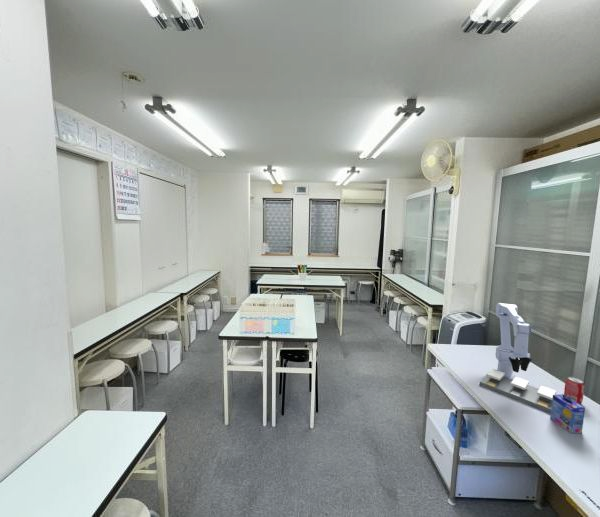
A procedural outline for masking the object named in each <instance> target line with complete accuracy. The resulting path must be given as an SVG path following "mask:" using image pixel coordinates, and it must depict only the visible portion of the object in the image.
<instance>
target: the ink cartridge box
mask: <svg viewBox="0 0 600 517" xmlns="http://www.w3.org/2000/svg"><path fill="white" fill-rule="evenodd" d="M585 410H586V407H585V406H583V405H581V404H578V403H576V402H574V401H573V400H571V399H570V398H568V397H567V396H565V395H564V393H562V394H555V395H553V399H552V407H551V413H550V416H549V418H550V420H552V421H554V423H556V424H558V426H561V427H562V428H563V429H565V430H566V431H567V432H569V433H570V434H582V433H583V427H584V418H585Z"/></svg>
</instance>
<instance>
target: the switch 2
mask: <svg viewBox="0 0 600 517" xmlns="http://www.w3.org/2000/svg"><path fill="white" fill-rule="evenodd" d="M512 379H513V381H512V382H511V385H513V386H515V387H518V388H521V389H523V390H525V389H526V387H527V386H528V385H529V384H530V381H529V380H526V379H524V378H521V377H519V376H515V377H513V378H512Z"/></svg>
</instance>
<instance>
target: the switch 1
mask: <svg viewBox="0 0 600 517" xmlns="http://www.w3.org/2000/svg"><path fill="white" fill-rule="evenodd" d="M486 375H487V376H488V377H491V378H494V379H496V380H499V381H500V380H501V379H502V378H503V376H504V375H505V373H504V372H501V371H498V370H497V369H495V368H492V369H491V370H490V371H489V372H488V373H487V374H486Z"/></svg>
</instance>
